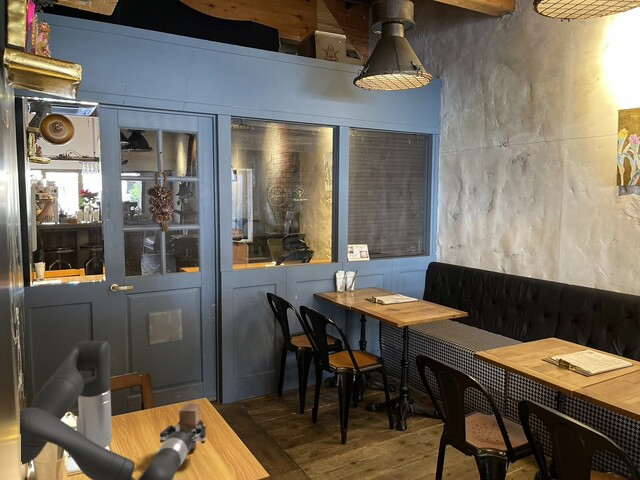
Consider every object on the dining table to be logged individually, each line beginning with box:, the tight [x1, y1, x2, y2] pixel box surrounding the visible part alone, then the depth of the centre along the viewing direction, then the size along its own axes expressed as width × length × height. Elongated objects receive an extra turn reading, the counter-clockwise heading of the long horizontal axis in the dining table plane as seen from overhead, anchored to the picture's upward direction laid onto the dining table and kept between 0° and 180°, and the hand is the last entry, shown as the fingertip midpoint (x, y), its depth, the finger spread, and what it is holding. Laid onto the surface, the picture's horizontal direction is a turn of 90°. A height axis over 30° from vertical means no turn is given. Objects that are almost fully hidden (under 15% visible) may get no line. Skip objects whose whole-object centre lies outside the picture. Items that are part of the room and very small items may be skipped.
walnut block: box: [178, 403, 201, 449], centre depth 151 cm, size 5×5×12 cm
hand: (192, 422), depth 153 cm, fingers open, 5 cm apart
